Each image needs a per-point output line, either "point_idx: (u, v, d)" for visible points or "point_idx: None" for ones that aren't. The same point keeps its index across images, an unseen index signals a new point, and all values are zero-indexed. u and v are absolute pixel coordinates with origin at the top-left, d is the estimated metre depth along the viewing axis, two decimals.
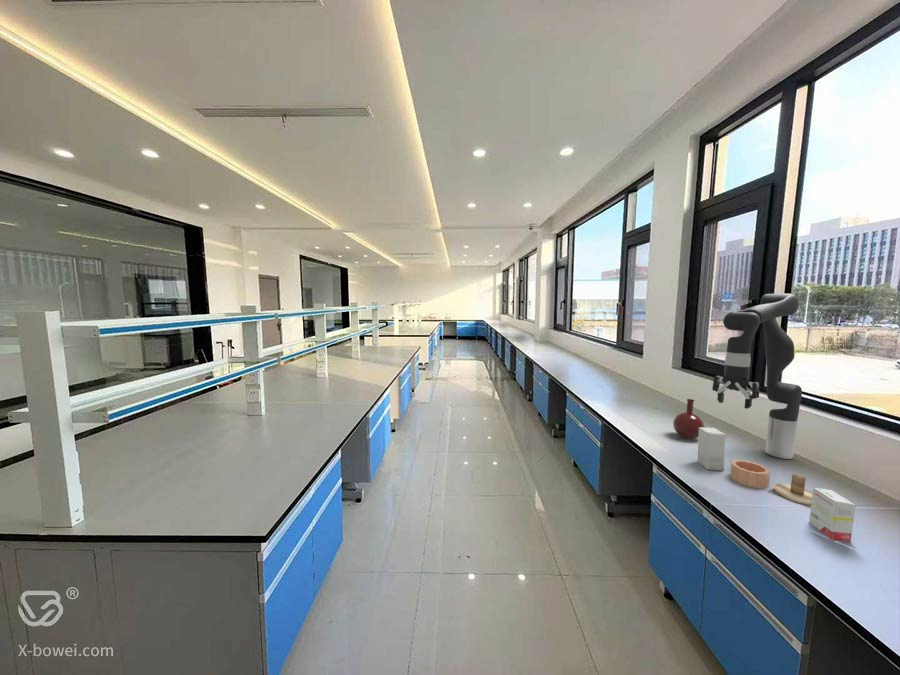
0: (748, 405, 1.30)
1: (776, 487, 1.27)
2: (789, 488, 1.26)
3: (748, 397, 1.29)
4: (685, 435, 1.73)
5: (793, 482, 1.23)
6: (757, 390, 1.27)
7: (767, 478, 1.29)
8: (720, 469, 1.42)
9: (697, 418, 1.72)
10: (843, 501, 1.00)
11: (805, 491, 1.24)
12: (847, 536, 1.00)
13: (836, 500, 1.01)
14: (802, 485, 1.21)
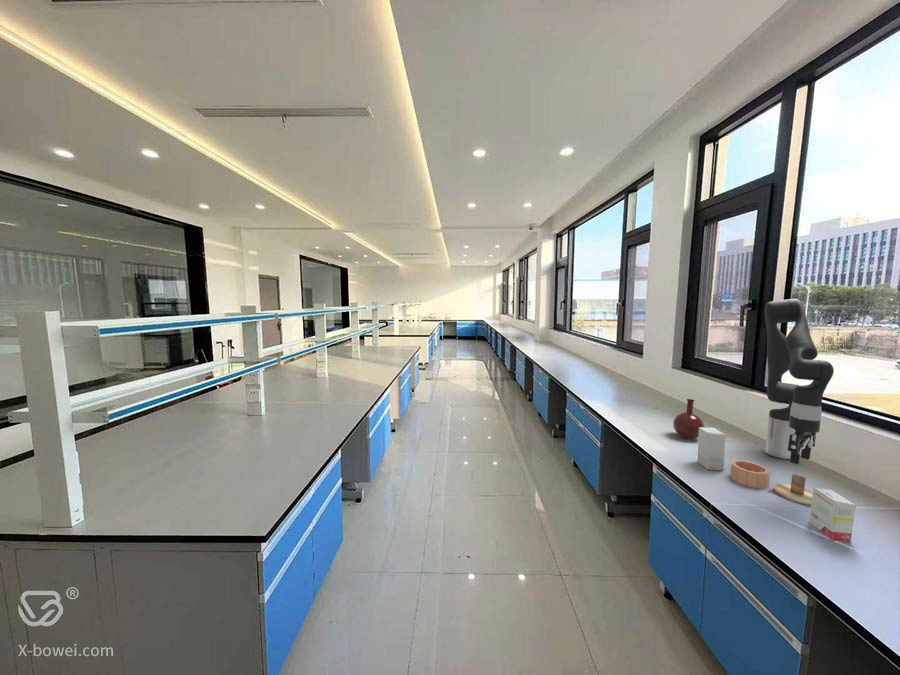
0: None
1: (776, 487, 1.27)
2: (789, 488, 1.26)
3: (812, 447, 1.23)
4: (685, 435, 1.73)
5: (793, 482, 1.23)
6: None
7: (767, 478, 1.29)
8: (720, 469, 1.42)
9: (697, 418, 1.72)
10: (843, 501, 1.00)
11: (805, 491, 1.24)
12: (847, 536, 1.00)
13: (836, 500, 1.01)
14: (802, 485, 1.21)
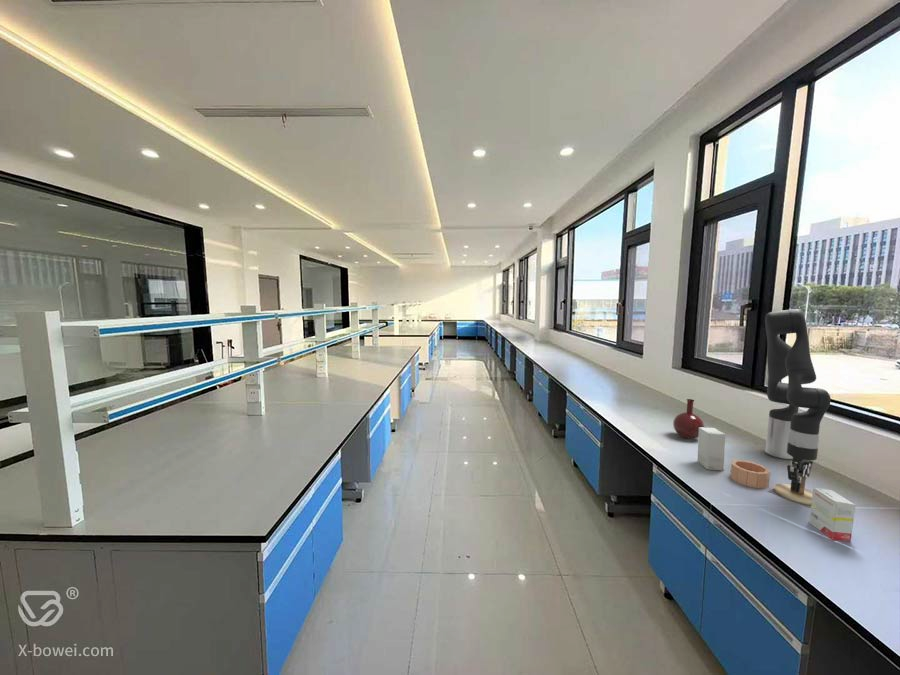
0: None
1: (776, 487, 1.27)
2: (789, 488, 1.26)
3: (806, 477, 1.23)
4: (685, 435, 1.73)
5: None
6: None
7: (767, 478, 1.29)
8: (720, 469, 1.42)
9: (697, 418, 1.72)
10: (843, 501, 1.00)
11: (805, 491, 1.24)
12: (847, 536, 1.00)
13: (836, 500, 1.01)
14: (802, 485, 1.21)
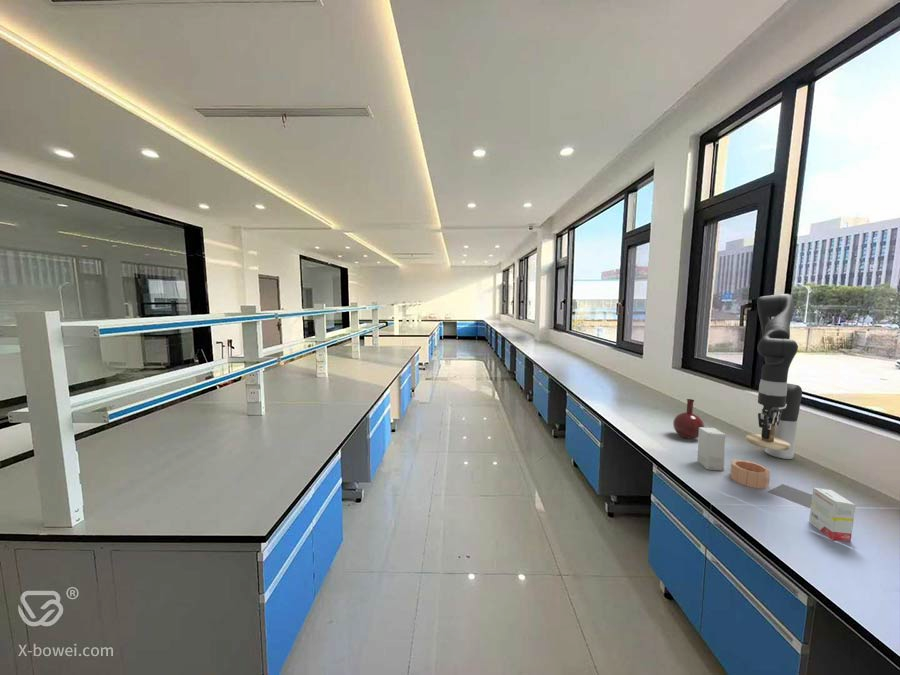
0: None
1: (748, 436, 1.32)
2: (760, 437, 1.32)
3: (776, 425, 1.29)
4: (685, 435, 1.73)
5: None
6: None
7: (767, 478, 1.29)
8: (720, 469, 1.42)
9: (697, 418, 1.72)
10: (843, 501, 1.00)
11: (775, 439, 1.30)
12: (847, 536, 1.00)
13: (836, 500, 1.01)
14: (772, 432, 1.27)
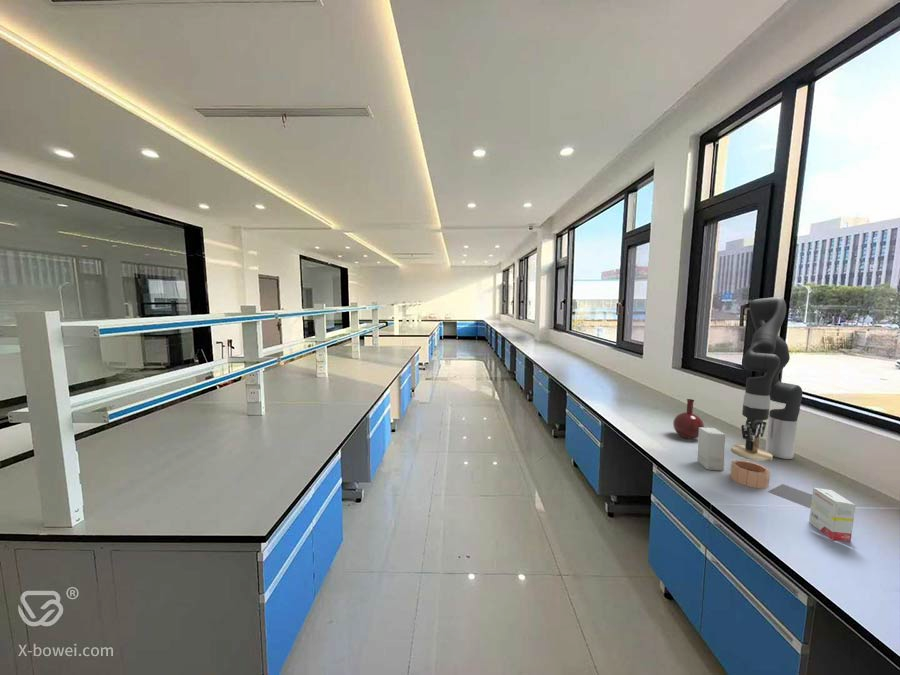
0: None
1: (733, 447, 1.36)
2: None
3: (760, 437, 1.32)
4: (685, 435, 1.73)
5: None
6: None
7: (767, 478, 1.29)
8: (720, 469, 1.42)
9: (697, 418, 1.72)
10: (843, 501, 1.00)
11: (759, 450, 1.34)
12: (847, 536, 1.00)
13: (836, 500, 1.01)
14: (755, 444, 1.31)
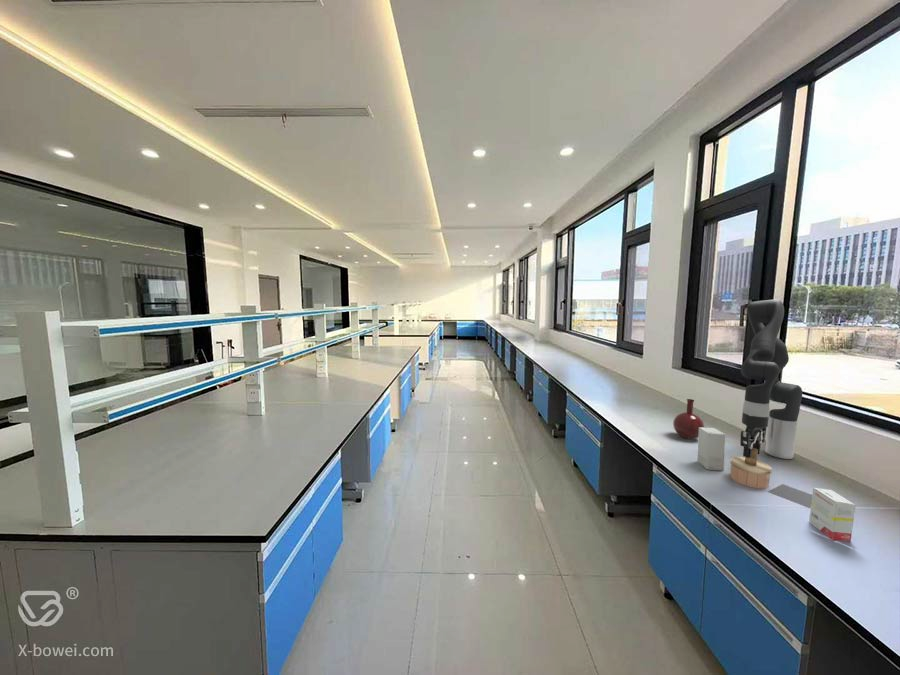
0: None
1: (732, 459, 1.37)
2: (744, 460, 1.36)
3: (761, 443, 1.33)
4: (685, 435, 1.73)
5: None
6: None
7: (767, 478, 1.29)
8: (720, 469, 1.42)
9: (697, 418, 1.72)
10: (843, 501, 1.00)
11: (758, 462, 1.34)
12: (847, 536, 1.00)
13: (836, 500, 1.01)
14: (754, 456, 1.31)
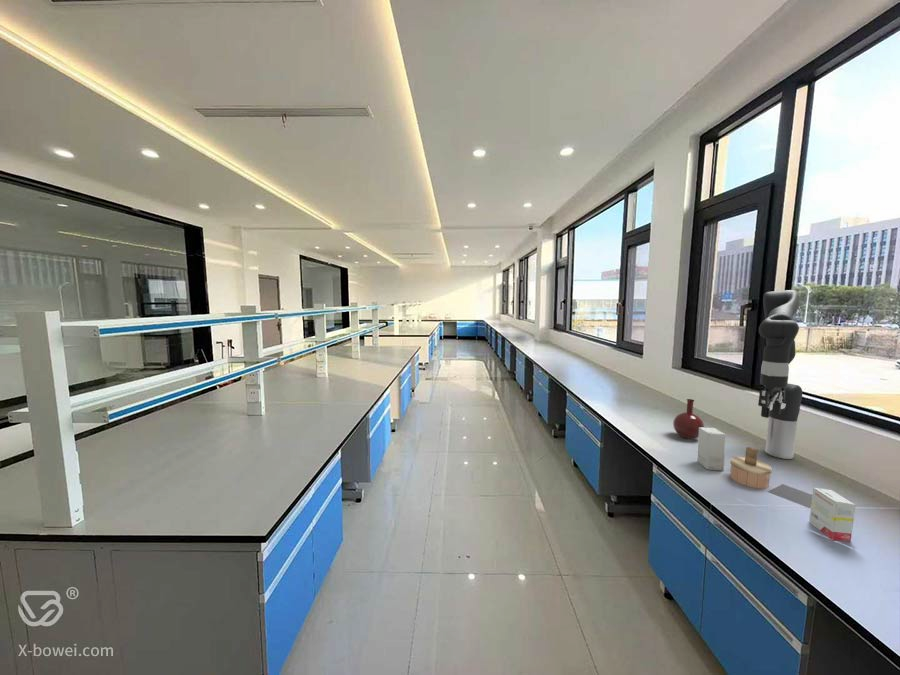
0: None
1: (732, 459, 1.37)
2: (744, 460, 1.36)
3: (782, 402, 1.32)
4: (685, 435, 1.73)
5: (746, 454, 1.33)
6: None
7: (767, 478, 1.29)
8: (720, 469, 1.42)
9: (697, 418, 1.72)
10: (843, 501, 1.00)
11: (758, 462, 1.34)
12: (847, 536, 1.00)
13: (836, 500, 1.01)
14: (754, 456, 1.31)
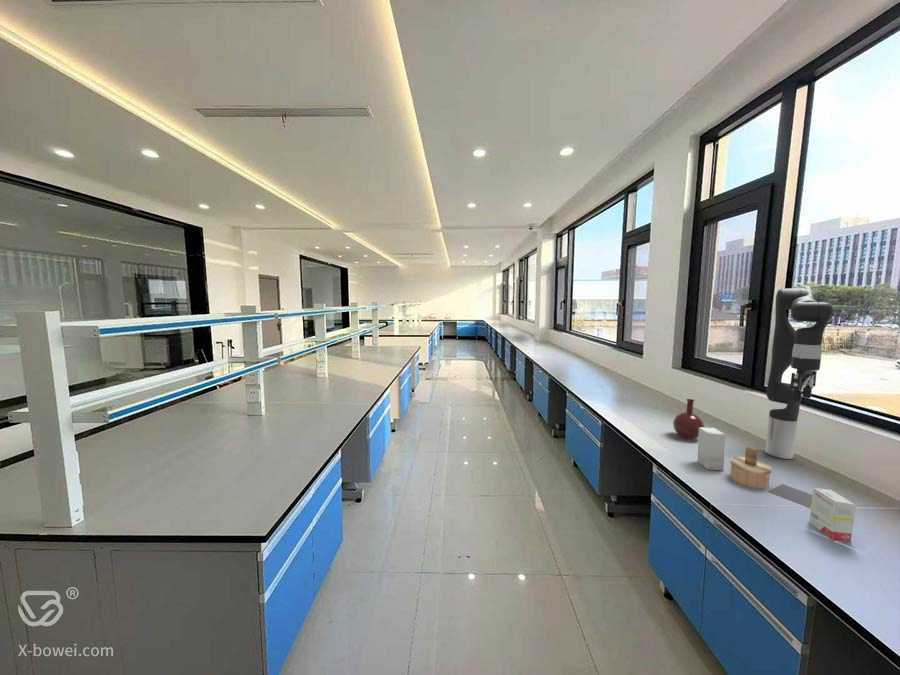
0: None
1: (732, 459, 1.37)
2: (744, 460, 1.36)
3: (812, 386, 1.30)
4: (685, 435, 1.73)
5: (746, 454, 1.33)
6: None
7: (767, 478, 1.29)
8: (720, 469, 1.42)
9: (697, 418, 1.72)
10: (843, 501, 1.00)
11: (758, 462, 1.34)
12: (847, 536, 1.00)
13: (836, 500, 1.01)
14: (754, 456, 1.31)
